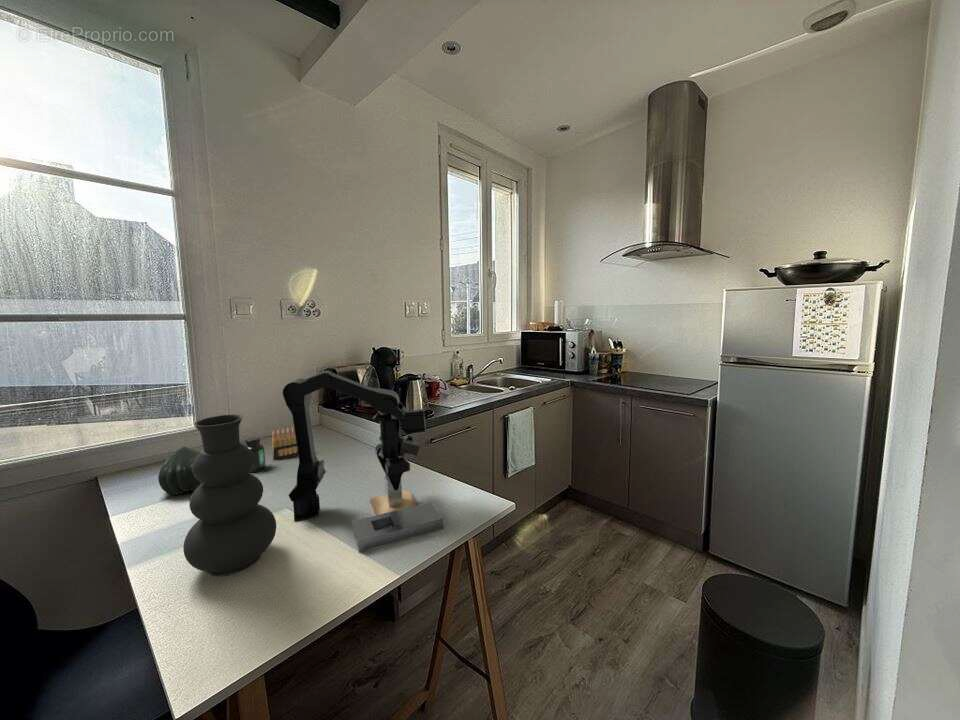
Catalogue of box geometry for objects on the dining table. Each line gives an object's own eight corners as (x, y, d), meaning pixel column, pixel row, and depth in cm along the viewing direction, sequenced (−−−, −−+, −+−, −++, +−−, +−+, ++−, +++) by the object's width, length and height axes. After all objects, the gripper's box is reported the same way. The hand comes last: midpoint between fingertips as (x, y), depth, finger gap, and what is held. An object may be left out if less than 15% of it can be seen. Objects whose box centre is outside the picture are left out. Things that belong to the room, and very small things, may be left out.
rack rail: (359, 552, 95) (358, 541, 95) (353, 531, 104) (352, 521, 103) (443, 528, 104) (443, 518, 104) (431, 511, 113) (430, 501, 113)
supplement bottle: (268, 469, 146) (265, 438, 144) (247, 474, 141) (244, 443, 139) (262, 464, 151) (259, 434, 149) (242, 469, 146) (239, 438, 144)
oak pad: (378, 521, 109) (377, 517, 108) (370, 502, 119) (370, 498, 119) (419, 510, 114) (419, 506, 114) (408, 493, 125) (408, 489, 124)
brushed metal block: (388, 507, 114) (387, 481, 113) (386, 501, 117) (384, 476, 116) (402, 504, 115) (401, 478, 114) (399, 498, 119) (397, 473, 118)
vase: (291, 559, 93) (278, 417, 88) (199, 603, 79) (177, 439, 74) (262, 530, 105) (249, 405, 100) (178, 565, 92) (159, 421, 87)
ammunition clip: (273, 460, 154) (270, 431, 152) (273, 459, 155) (270, 430, 154) (302, 454, 160) (300, 426, 158) (302, 453, 161) (299, 425, 160)
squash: (187, 487, 120) (204, 441, 128) (139, 489, 120) (159, 443, 128) (215, 498, 132) (228, 456, 140) (171, 501, 132) (187, 458, 140)
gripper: (426, 439, 109) (428, 491, 111) (408, 421, 125) (410, 467, 127) (387, 446, 104) (389, 500, 106) (373, 427, 120) (376, 474, 123)
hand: (393, 484), depth 116 cm, fingers open, 8 cm apart
